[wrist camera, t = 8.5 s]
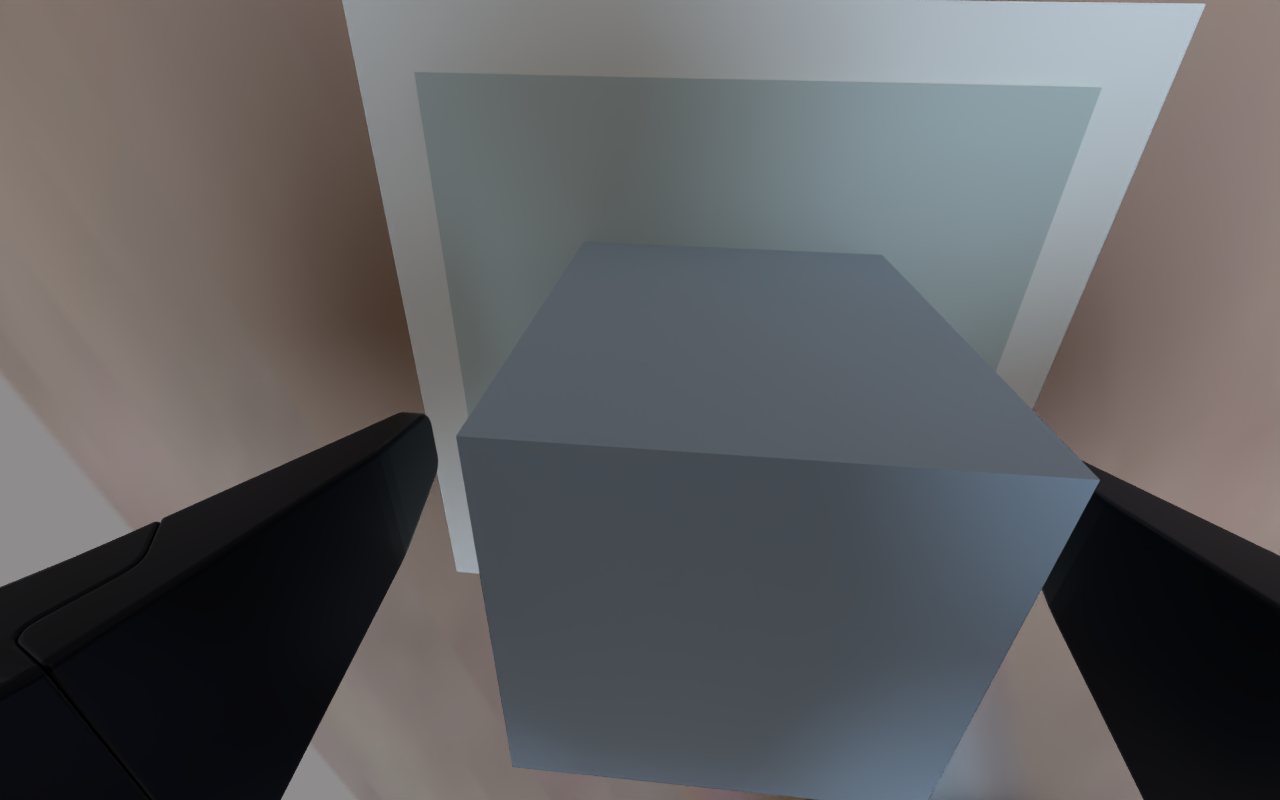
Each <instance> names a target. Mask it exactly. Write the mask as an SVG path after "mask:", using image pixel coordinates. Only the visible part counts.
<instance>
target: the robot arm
mask: <svg viewBox="0 0 1280 800" xmlns="http://www.w3.org/2000/svg"><path fill="white" fill-rule="evenodd" d="M1081 461H1082V460H1081ZM1082 462H1083V463H1084V464H1085V465H1086V466H1087V467H1088V468H1089V469H1090V470H1091V471H1092V472H1093V473H1094V474H1095V475H1096V476H1097V477H1098V478H1099V479H1100V481H1099V483H1098V485H1097V487H1096V489H1095V490H1094V492H1093V494H1092V496H1091V498H1090V500H1089V502H1088V503H1087V505H1086V507H1085V509H1084V511H1083V513H1082V515H1081V516H1080V518H1079V520H1078V522H1077V524H1076V526H1075V528H1074V530H1073V531H1072V533H1071V535H1070V537H1069V539H1068V541H1067V543H1066V544H1065V546H1064V548H1063V550H1062V552H1061V554H1060V556H1059V557H1058V559H1057V561H1056V563H1055V565H1054V567H1053V569H1052V570H1051V572H1050V574H1049V576H1048V578H1047V580H1046V582H1045V583H1044V585H1043V587H1042V591H1043V594H1044V596H1045V599H1046V601H1047V604H1048V606H1049V608H1050V611H1051V613H1052V615H1053V617H1054V619H1055V621H1056V624H1057V626H1058V628H1059V630H1060V632H1061V634H1062V636H1063V638H1064V640H1065V642H1066V644H1067V646H1068V648H1069V650H1070V652H1071V654H1072V656H1073V658H1074V660H1075V662H1076V664H1077V666H1078V668H1079V670H1080V672H1081V674H1082V676H1083V678H1084V680H1085V682H1086V684H1087V686H1088V688H1089V690H1090V692H1091V694H1092V696H1093V698H1094V700H1095V702H1096V704H1097V706H1098V709H1099V711H1100V713H1101V715H1102V717H1103V719H1104V721H1105V723H1106V725H1107V727H1108V729H1109V731H1110V733H1111V735H1112V737H1113V739H1114V741H1115V743H1116V745H1117V747H1118V749H1119V751H1120V753H1121V755H1122V757H1123V759H1124V761H1125V763H1126V765H1127V767H1128V769H1129V771H1130V773H1131V775H1132V777H1133V779H1134V781H1135V783H1136V785H1137V787H1138V789H1139V791H1140V793H1141V795H1142V797H1143V799H1144V800H1280V556H1279V555H1277V554H1275V553H1273V552H1271V551H1269V550H1266V549H1264V548H1262V547H1260V546H1258V545H1256V544H1254V543H1252V542H1250V541H1248V540H1246V539H1244V538H1242V537H1240V536H1237V535H1235V534H1233V533H1231V532H1229V531H1227V530H1225V529H1223V528H1221V527H1219V526H1217V525H1215V524H1213V523H1210V522H1208V521H1206V520H1204V519H1202V518H1200V517H1198V516H1196V515H1194V514H1192V513H1190V512H1188V511H1186V510H1183V509H1181V508H1179V507H1177V506H1175V505H1173V504H1171V503H1169V502H1167V501H1165V500H1163V499H1161V498H1159V497H1156V496H1154V495H1152V494H1150V493H1148V492H1146V491H1144V490H1142V489H1140V488H1138V487H1136V486H1134V485H1132V484H1130V483H1127V482H1125V481H1123V480H1121V479H1119V478H1117V477H1115V476H1113V475H1111V474H1109V473H1107V472H1105V471H1103V470H1100V469H1098V468H1096V467H1094V466H1092V465H1090V464H1088V463H1086V462H1084V461H1082ZM437 469H438V454H437V449H436V444H435V439H434V434H433V429H432V424H431V421H430V419H429V417H428V416H427V415H425V414H421V413H406V412H402V413H398V414H395V415H393V416H391V417H389V418H386V419H384V420H382V421H380V422H378V423H375V424H373V425H371V426H369V427H366V428H364V429H362V430H360V431H357V432H355V433H353V434H351V435H348V436H346V437H344V438H342V439H339V440H337V441H335V442H333V443H330V444H328V445H326V446H324V447H322V448H319V449H317V450H315V451H313V452H310V453H308V454H306V455H304V456H301V457H299V458H297V459H295V460H292V461H290V462H288V463H286V464H283V465H281V466H279V467H277V468H274V469H272V470H270V471H268V472H265V473H263V474H261V475H259V476H257V477H254V478H252V479H250V480H248V481H245V482H243V483H241V484H239V485H236V486H234V487H232V488H230V489H227V490H225V491H223V492H221V493H218V494H216V495H214V496H212V497H209V498H207V499H205V500H203V501H201V502H198V503H196V504H194V505H192V506H189V507H187V508H185V509H183V510H180V511H178V512H176V513H174V514H171V515H169V516H167V517H165V518H163V519H162V520H161V523H160V522H153V523H151V524H149V525H146V526H144V527H142V528H140V529H137V530H135V531H133V532H131V533H129V534H126V535H124V536H122V537H119V538H117V539H115V540H112V541H110V542H108V543H106V544H103V545H101V546H99V547H97V548H94V549H92V550H90V551H87V552H85V553H82V554H80V555H78V556H76V557H73V558H71V559H68V560H66V561H63V562H61V563H59V564H56V565H54V566H51V567H49V568H46V569H44V570H41V571H39V572H36V573H34V574H32V575H29V576H26V577H24V578H22V579H19V580H17V581H14V582H12V583H9V584H7V585H4V586H2V587H0V800H281V798H282V796H283V794H284V792H285V790H286V789H287V787H288V785H289V782H290V781H291V779H292V777H293V775H294V773H295V771H296V769H297V767H298V765H299V763H300V761H301V759H302V757H303V755H304V753H305V751H306V749H307V747H308V745H309V744H310V742H311V740H312V738H313V736H314V734H315V732H316V730H317V728H318V726H319V724H320V722H321V720H322V718H323V716H324V714H325V712H326V710H327V708H328V706H329V704H330V702H331V700H332V699H333V697H334V695H335V693H336V691H337V689H338V687H339V685H340V683H341V681H342V679H343V677H344V675H345V673H346V671H347V669H348V667H349V665H350V663H351V661H352V659H353V657H354V655H355V654H356V652H357V650H358V648H359V646H360V644H361V642H362V640H363V638H364V636H365V634H366V632H367V630H368V628H369V626H370V624H371V622H372V620H373V618H374V616H375V614H376V612H377V610H378V609H379V607H380V605H381V603H382V601H383V599H384V597H385V595H386V593H387V591H388V589H389V587H390V585H391V583H392V581H393V579H394V577H395V575H396V573H397V571H398V569H399V567H400V565H401V563H402V561H403V559H404V557H405V555H406V552H407V550H408V548H409V545H410V543H411V540H412V537H413V535H414V532H415V529H416V527H417V524H418V521H419V519H420V516H421V513H422V511H423V508H424V505H425V503H426V500H427V497H428V495H429V492H430V489H431V487H432V484H433V481H434V478H435V476H436V473H437Z"/></svg>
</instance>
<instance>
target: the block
mask: <svg viewBox="0 0 1280 800" xmlns="http://www.w3.org/2000/svg"><path fill="white" fill-rule="evenodd" d="M456 440H457V445H458V451H459V457H460V463H461V469H462V475H463V480H464V486H465V492H466V498H467V504H468V510H469V515H470V521H471V527H472V533H473V539H474V545H475V550H476V556H477V562H478V568H479V574H480V579H481V585H482V591H483V597H484V603H485V609H486V614H487V620H488V626H489V632H490V638H491V644H492V649H493V655H494V661H495V667H496V673H497V679H498V684H499V690H500V696H501V702H502V708H503V714H504V719H505V725H506V731H507V737H508V743H509V749H510V754H511V760H512V766H513V767H518V768H527V769H537V770H546V771H555V772H565V773H574V774H583V775H593V776H602V777H611V778H621V779H630V780H639V781H649V782H658V783H667V784H677V785H686V786H695V787H705V788H714V789H723V790H732V791H742V792H751V793H760V794H770V795H779V796H788V797H798V798H807V799H816V800H928V799H929V797H930V796H931V794H932V792H933V790H934V788H935V786H936V784H937V783H938V781H939V779H940V777H941V775H942V773H943V771H944V770H945V768H946V766H947V764H948V762H949V760H950V758H951V757H952V755H953V753H954V751H955V749H956V747H957V745H958V744H959V742H960V740H961V738H962V736H963V734H964V732H965V730H966V729H967V727H968V725H969V723H970V721H971V719H972V717H973V716H974V714H975V712H976V710H977V708H978V706H979V704H980V703H981V701H982V699H983V697H984V695H985V693H986V691H987V690H988V688H989V686H990V684H991V682H992V680H993V678H994V677H995V675H996V673H997V671H998V669H999V667H1000V665H1001V663H1002V662H1003V660H1004V658H1005V656H1006V654H1007V652H1008V650H1009V649H1010V647H1011V645H1012V643H1013V641H1014V639H1015V637H1016V636H1017V634H1018V632H1019V630H1020V628H1021V626H1022V624H1023V623H1024V621H1025V619H1026V617H1027V615H1028V613H1029V611H1030V610H1031V608H1032V606H1033V604H1034V602H1035V600H1036V598H1037V597H1038V595H1039V593H1040V591H1041V589H1042V587H1043V585H1044V583H1045V582H1046V580H1047V578H1048V576H1049V574H1050V572H1051V570H1052V569H1053V567H1054V565H1055V563H1056V561H1057V559H1058V557H1059V556H1060V554H1061V552H1062V550H1063V548H1064V546H1065V544H1066V543H1067V541H1068V539H1069V537H1070V535H1071V533H1072V531H1073V530H1074V528H1075V526H1076V524H1077V522H1078V520H1079V518H1080V516H1081V515H1082V513H1083V511H1084V509H1085V507H1086V505H1087V503H1088V502H1089V500H1090V498H1091V496H1092V494H1093V492H1094V490H1095V489H1096V487H1097V485H1098V483H1099V481H1100V479H1099V478H1098V477H1097V476H1096V475H1095V474H1094V473H1093V472H1092V471H1091V470H1090V469H1089V468H1088V467H1087V466H1086V465H1085V464H1084V463H1083V462H1082V461H1081V460H1080V459H1079V458H1078V457H1077V456H1076V455H1075V454H1074V453H1073V451H1072V450H1071V449H1070V448H1069V447H1068V446H1067V445H1066V444H1065V443H1064V442H1063V441H1062V440H1061V439H1060V438H1059V437H1058V436H1057V435H1056V434H1055V433H1054V432H1053V431H1052V430H1051V429H1050V428H1049V427H1048V426H1047V425H1046V424H1045V423H1044V422H1043V420H1042V419H1041V418H1040V417H1039V416H1038V415H1037V414H1036V413H1035V412H1034V411H1033V410H1032V409H1031V408H1030V407H1029V406H1028V405H1027V404H1026V403H1025V402H1024V401H1023V400H1022V399H1021V398H1020V397H1019V396H1018V395H1017V394H1016V393H1015V392H1014V391H1013V389H1012V388H1011V387H1010V386H1009V385H1008V384H1007V383H1006V382H1005V381H1004V380H1003V379H1002V378H1001V377H1000V376H999V375H998V374H997V373H996V372H995V371H994V370H993V369H992V368H991V367H990V366H989V365H988V364H987V363H986V362H985V361H984V359H983V358H982V357H981V356H980V355H979V354H978V353H977V352H976V351H975V350H974V349H973V348H972V347H971V346H970V345H969V344H968V343H967V342H966V341H965V340H964V339H963V338H962V337H961V336H960V335H959V334H958V333H957V332H956V331H955V330H954V328H953V327H952V326H951V325H950V324H949V323H948V322H947V321H946V320H945V319H944V318H943V317H942V316H941V315H940V314H939V313H938V312H937V311H936V310H935V309H934V308H933V307H932V306H931V305H930V304H929V303H928V302H927V301H926V300H925V299H924V297H923V296H922V295H921V294H920V293H919V292H918V291H917V290H916V289H915V288H914V287H913V286H912V285H911V284H910V283H909V282H908V281H907V280H906V279H905V278H904V277H903V276H902V275H901V274H900V273H899V272H898V271H897V270H896V269H895V268H894V266H893V265H892V264H891V263H890V262H889V261H888V260H887V259H886V258H885V257H884V256H883V255H875V254H852V253H829V252H807V251H784V250H761V249H739V248H716V247H693V246H671V245H648V244H625V243H603V242H583V244H582V245H581V247H580V248H579V250H578V251H577V253H576V254H575V256H574V257H573V259H572V260H571V262H570V263H569V265H568V266H567V268H566V269H565V271H564V273H563V274H562V276H561V277H560V279H559V280H558V282H557V283H556V285H555V286H554V288H553V289H552V291H551V292H550V294H549V295H548V297H547V298H546V300H545V301H544V303H543V304H542V306H541V307H540V309H539V311H538V312H537V314H536V315H535V317H534V318H533V320H532V321H531V323H530V324H529V326H528V327H527V329H526V330H525V332H524V333H523V335H522V336H521V338H520V339H519V341H518V342H517V344H516V346H515V347H514V349H513V350H512V352H511V353H510V355H509V356H508V358H507V359H506V361H505V362H504V364H503V365H502V367H501V368H500V370H499V371H498V373H497V374H496V376H495V377H494V379H493V380H492V382H491V384H490V385H489V387H488V388H487V390H486V391H485V393H484V394H483V396H482V397H481V399H480V400H479V402H478V403H477V405H476V406H475V408H474V409H473V411H472V412H471V414H470V415H469V417H468V418H467V420H466V422H465V423H464V425H463V426H462V428H461V429H460V431H459V432H458V434H457V435H456Z"/></svg>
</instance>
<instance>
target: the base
mask: <svg viewBox="0 0 1280 800" xmlns="http://www.w3.org/2000/svg"><path fill="white" fill-rule="evenodd" d="M342 2H343V7H344V12H345V17H346V22H347V27H348V32H349V37H350V42H351V47H352V52H353V57H354V62H355V67H356V72H357V77H358V82H359V87H360V92H361V97H362V102H363V107H364V112H365V117H366V122H367V127H368V132H369V137H370V141H371V146H372V151H373V156H374V161H375V166H376V171H377V176H378V181H379V186H380V191H381V196H382V201H383V206H384V211H385V216H386V221H387V226H388V231H389V236H390V241H391V246H392V251H393V256H394V261H395V266H396V271H397V276H398V281H399V286H400V291H401V296H402V300H403V305H404V310H405V315H406V320H407V325H408V330H409V335H410V340H411V345H412V350H413V355H414V360H415V365H416V370H417V375H418V380H419V385H420V390H421V395H422V400H423V405H424V410H425V415H427V416H428V417H429V419H430V421H431V424H432V429H433V434H434V439H435V444H436V449H437V454H438V469H437V474H438V479H439V484H440V489H441V494H442V499H443V504H444V509H445V514H446V519H447V524H448V529H449V534H450V539H451V544H452V549H453V554H454V559H455V564H456V569H457V572H466V573H478V574H479V568H478V562H477V556H476V550H475V545H474V539H473V533H472V527H471V521H470V515H469V510H468V504H467V498H466V492H465V486H464V480H463V475H462V469H461V463H460V457H459V451H458V445H457V440H456V435H457V434H458V432H459V431H460V429H461V428H462V426H463V425H464V423H465V422H466V420H467V418H468V417H469V415H470V414H471V412H472V411H473V409H474V408H475V406H476V405H477V403H478V402H479V400H480V399H481V397H482V396H483V394H484V393H485V391H486V390H487V388H488V387H489V385H490V384H491V382H492V380H493V379H494V377H495V376H496V374H497V373H498V371H499V370H500V368H501V367H502V365H503V364H504V362H505V361H506V359H507V358H508V356H509V355H510V353H511V352H512V350H513V349H514V347H515V346H516V344H517V342H518V341H519V339H520V338H521V336H522V335H523V333H524V332H525V330H526V329H527V327H528V326H529V324H530V323H531V321H532V320H533V318H534V317H535V315H536V314H537V312H538V311H539V309H540V307H541V306H542V304H543V303H544V301H545V300H546V298H547V297H548V295H549V294H550V292H551V291H552V289H553V288H554V286H555V285H556V283H557V282H558V280H559V279H560V277H561V276H562V274H563V273H564V271H565V269H566V268H567V266H568V265H569V263H570V262H571V260H572V259H573V257H574V256H575V254H576V253H577V251H578V250H579V248H580V247H581V245H582V244H583V242H603V243H625V244H648V245H671V246H693V247H716V248H739V249H761V250H784V251H807V252H829V253H852V254H875V255H883V256H884V257H885V258H886V259H887V260H888V261H889V262H890V263H891V264H892V265H893V266H894V268H895V269H896V270H897V271H898V272H899V273H900V274H901V275H902V276H903V277H904V278H905V279H906V280H907V281H908V282H909V283H910V284H911V285H912V286H913V287H914V288H915V289H916V290H917V291H918V292H919V293H920V294H921V295H922V296H923V297H924V299H925V300H926V301H927V302H928V303H929V304H930V305H931V306H932V307H933V308H934V309H935V310H936V311H937V312H938V313H939V314H940V315H941V316H942V317H943V318H944V319H945V320H946V321H947V322H948V323H949V324H950V325H951V326H952V327H953V328H954V330H955V331H956V332H957V333H958V334H959V335H960V336H961V337H962V338H963V339H964V340H965V341H966V342H967V343H968V344H969V345H970V346H971V347H972V348H973V349H974V350H975V351H976V352H977V353H978V354H979V355H980V356H981V357H982V358H983V359H984V361H985V362H986V363H987V364H988V365H989V366H990V367H991V368H992V369H993V370H994V371H995V372H996V373H997V374H998V375H999V376H1000V377H1001V378H1002V379H1003V380H1004V381H1005V382H1006V383H1007V384H1008V385H1009V386H1010V387H1011V388H1012V389H1013V391H1014V392H1015V393H1016V394H1017V395H1018V396H1019V397H1020V398H1021V399H1022V400H1023V401H1024V402H1025V403H1026V404H1027V405H1028V406H1029V407H1030V408H1031V409H1032V410H1033V408H1034V406H1035V403H1036V401H1037V399H1038V396H1039V394H1040V392H1041V389H1042V387H1043V384H1044V382H1045V380H1046V377H1047V375H1048V373H1049V370H1050V368H1051V366H1052V363H1053V361H1054V359H1055V356H1056V354H1057V352H1058V349H1059V347H1060V345H1061V342H1062V340H1063V338H1064V335H1065V333H1066V331H1067V328H1068V326H1069V324H1070V321H1071V319H1072V317H1073V314H1074V312H1075V309H1076V307H1077V305H1078V302H1079V300H1080V298H1081V295H1082V293H1083V291H1084V288H1085V286H1086V284H1087V281H1088V279H1089V277H1090V274H1091V272H1092V270H1093V267H1094V265H1095V263H1096V260H1097V258H1098V256H1099V253H1100V251H1101V249H1102V246H1103V244H1104V242H1105V239H1106V237H1107V234H1108V232H1109V230H1110V227H1111V225H1112V223H1113V220H1114V218H1115V216H1116V213H1117V211H1118V209H1119V206H1120V204H1121V202H1122V199H1123V197H1124V195H1125V192H1126V190H1127V188H1128V185H1129V183H1130V181H1131V178H1132V176H1133V174H1134V171H1135V169H1136V167H1137V164H1138V162H1139V159H1140V157H1141V155H1142V152H1143V150H1144V148H1145V145H1146V143H1147V141H1148V138H1149V136H1150V134H1151V131H1152V129H1153V127H1154V124H1155V122H1156V120H1157V117H1158V115H1159V113H1160V110H1161V108H1162V106H1163V103H1164V101H1165V99H1166V96H1167V94H1168V91H1169V89H1170V87H1171V84H1172V82H1173V80H1174V77H1175V75H1176V73H1177V70H1178V68H1179V66H1180V63H1181V61H1182V59H1183V56H1184V54H1185V52H1186V49H1187V47H1188V45H1189V42H1190V40H1191V38H1192V35H1193V33H1194V31H1195V28H1196V26H1197V24H1198V21H1199V19H1200V16H1201V14H1202V12H1203V9H1204V7H1205V5H1206V4H1182V3H1104V2H1027V1H949V0H342Z"/></svg>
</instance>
